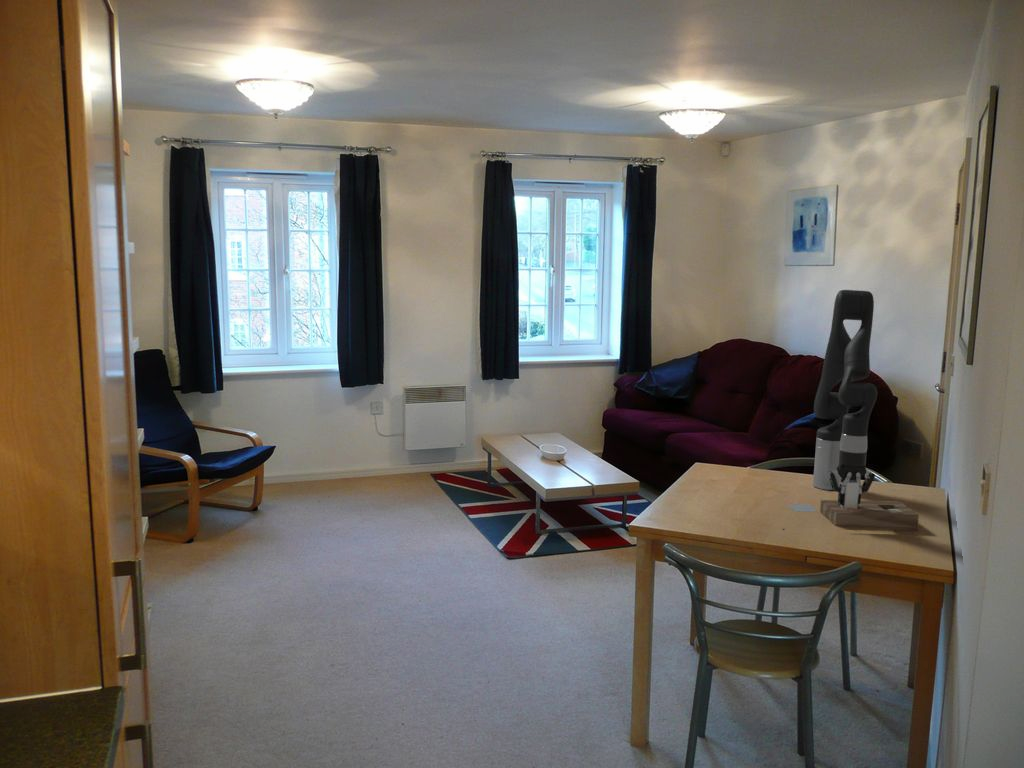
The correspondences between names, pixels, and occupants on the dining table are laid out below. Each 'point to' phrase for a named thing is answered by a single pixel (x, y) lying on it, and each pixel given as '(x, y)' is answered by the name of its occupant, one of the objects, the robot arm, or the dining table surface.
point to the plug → (851, 495)
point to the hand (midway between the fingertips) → (848, 504)
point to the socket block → (871, 514)
